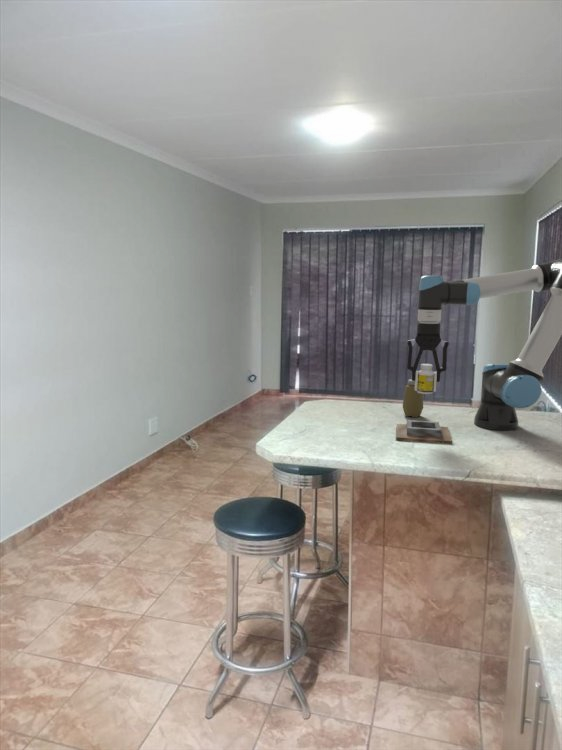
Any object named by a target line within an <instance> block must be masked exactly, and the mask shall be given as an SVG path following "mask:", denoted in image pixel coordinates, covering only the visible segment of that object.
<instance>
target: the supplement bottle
mask: <svg viewBox="0 0 562 750" xmlns="http://www.w3.org/2000/svg"><path fill="white" fill-rule="evenodd" d="M433 367H434V365H433V364H431V363H421V364H420V366H419V368H420V370H418V385H417V392H418V393H421V394H423V395H431V394H434V392H433V388H434V372H435V371H433V369H434V368H433Z"/></svg>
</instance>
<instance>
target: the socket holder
mask: <svg viewBox="0 0 562 750" xmlns="http://www.w3.org/2000/svg"><path fill="white" fill-rule="evenodd" d="M395 431H396V432H395V441H401V440H405V441H406V442H415V441H419V443H420V442H421V443H430V444H432V443H433V444H443V445H444V444H446V445H448V444H449V445H453V439H452V435H451V433H450V430H449V426H441V425H440V422H439V421H428V420H414V419H406V423H396V430H395ZM405 441H404V442H405Z"/></svg>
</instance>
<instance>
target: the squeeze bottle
mask: <svg viewBox="0 0 562 750" xmlns="http://www.w3.org/2000/svg"><path fill="white" fill-rule="evenodd" d="M423 396H424V394H421V393H418V392H417V391H415V381H412V376H411V378H410V379H408V380H407V385H405V386H404V393H403V399H402V410H403V413H404V416H405V415H406V417H408V416H412V417H411V418H419V417H421V415H422V412H423V409H424V398H423ZM418 416H419V417H418Z"/></svg>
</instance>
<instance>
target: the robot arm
mask: <svg viewBox="0 0 562 750" xmlns="http://www.w3.org/2000/svg"><path fill="white" fill-rule="evenodd" d="M418 287H419V288H418V310H417V322H418V323H417V324H416V326H417V327H416V335H415V338H413V339H408V340H407V346H408V351H407V352H408V353H407V361H406V362H407V363H406V369H407V370H410V371H411V377H412V381H415V391H417V385H418V372H419V370H417V369H418V366H419V364H420V360H421V359H422V358H421V357H422V355H423V352H424V351H431V353H432V357H433V361H434V366H435V370H436V371H433V372H434V388H433V393H436V392H437V382H438V383H439V382H440V380H441V373H443V372H446V371H447V358H448V357H447V356H448V355H447V353H448V347H449V345H450V343H449V341H447V340H443V339H442V338H441V323H440V322H441V321H442V320H441V319H442V306H443V305H444V306H445V305H448V306H449V305H452V306H453V305H454V306H473V305H477V304H478V302H479V301H480V299H486V298H490V297H491V298H492V297H496V296H504V295H509V294H510V295H511V294H516V293H522V292H528V291H529V292H530V291H534V292H536V293H542V292H550V293H551V296H550V298H549V300H548V301H547V304H546V306H545V307H544V310H542V313H541V315H540V317H539V318H538V320H537V322H536V324H535V326H534V327H533V329H532V331H531V333H530V335H529V337H528V338H527V340H526V342H525V344H524V345H523V347H522V349H521V350H520V353H519V355H518V356H517V358H516V359H514V360H510V361H509V363H486V364H485V365H484V366H483V369H482V374H481V375H482V378H481V379H482V380H481V392H480V404H479V406H478V407H477V408H478V409H477V411H476V413H475V415H474V418H473V419H474V422H473V424H474V425H475V426H477V427H481V428H483V429H488V430H493V431H494V430H495V431H497V430H498V431H512V430H517V429H518V428H519V419H518V415H517V411H516V409H527V408H530V407H531V406H533V405H534V404H537V402H538V400H539V399H540V397H541V394H542V386H541V383H542V381H543V379H544V377H545V375H544V373H543V370H544V367H545V365H547V361H548V360H549V358H550V356H551V354H552V352H553V351H554V349H555V348H556V346H557V344H558V342H559V340H560V338H561V336H562V258H559V259H555V260H552V261H548V262H543V263H540V264H534V265H532V267H531V268H528V269H527V268H526V269H519V270H515V271H507V272H501V273H498V274H497V273H495V274H490V275H483V276H477V277H472V278H466V279H465V278H464V279H458V280H453V281H444V277H443V275H422V276H421V277H420V280H419V286H418ZM415 343H416V345H417V346H418V347H419V349H418V352H417V354H416V356H415V360H414V363H413V366H412V358H413V346H415ZM439 344H441V345H440V346H441V347H442V348H441V349H442V350H441V351H442V353H441V354H442V356H441V366H440V362H439V358H438V354H437V350H436V349H437V347H438V346H439Z"/></svg>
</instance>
